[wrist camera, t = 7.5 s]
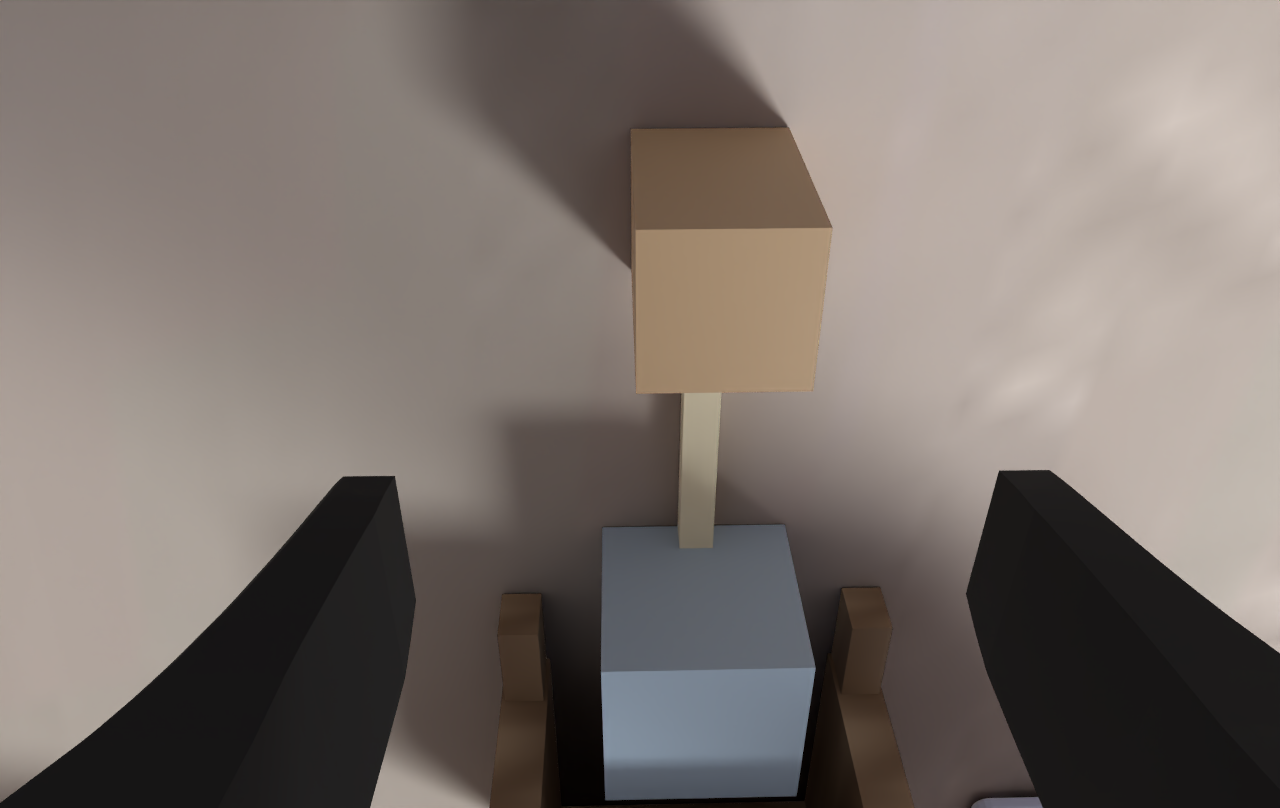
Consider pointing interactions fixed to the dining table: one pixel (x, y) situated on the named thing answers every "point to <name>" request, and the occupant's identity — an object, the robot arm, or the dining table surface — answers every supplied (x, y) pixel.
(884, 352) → the dining table surface
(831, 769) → the open wooden box
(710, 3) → the dining table surface
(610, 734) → the tethered block
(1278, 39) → the dining table surface
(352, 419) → the dining table surface
